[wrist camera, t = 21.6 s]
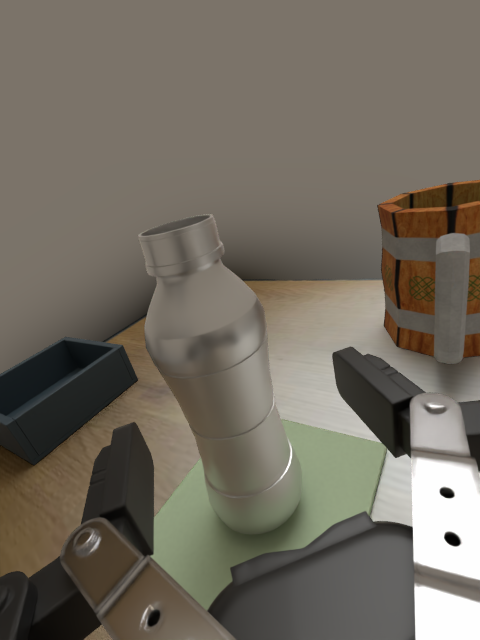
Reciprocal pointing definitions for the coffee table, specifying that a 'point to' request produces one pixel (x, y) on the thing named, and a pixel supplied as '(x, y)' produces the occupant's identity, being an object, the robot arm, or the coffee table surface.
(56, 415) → the bin
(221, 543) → the mat
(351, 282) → the coffee table surface
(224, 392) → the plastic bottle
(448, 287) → the mug
